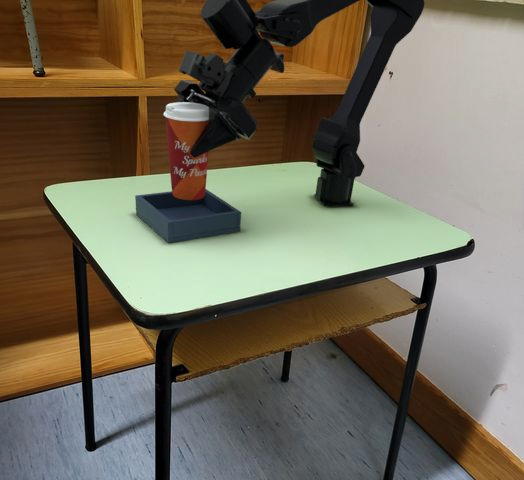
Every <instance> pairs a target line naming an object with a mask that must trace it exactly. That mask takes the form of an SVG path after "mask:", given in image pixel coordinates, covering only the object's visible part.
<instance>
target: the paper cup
mask: <svg viewBox="0 0 524 480" xmlns="http://www.w3.org/2000/svg"><path fill="white" fill-rule="evenodd" d="M163 116H164V117H165V126H166V138H167V153H168V164H169V173H170V175H169V176H170V184H171V191H172V194H173V196H174V197H176V198H178V199H183V200H197V199H201V198H203V197H204V196H205V190H206V189H207V177H208V174H207V173H208V163H209V162H208V161H209V151H208V152H206V153H204V154H202V155H200V156H198V157H195V158H194V157H192V155H191V154H190V151H191V149H192V147H193V146H194V144H195V142H196V141H197V139H198V138H199V136H200V135H201V133H202V132H203V130H204V129H205V127H206V126H207V124H208V122H209V107H208V106H206V105H203V104H197V103H188V102H179V101H177V102H170V103H168V104H166V105H165V111H164V112H163Z"/></svg>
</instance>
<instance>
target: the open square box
mask: <svg viewBox="0 0 524 480" xmlns="http://www.w3.org/2000/svg"><path fill="white" fill-rule="evenodd" d="M134 197H135V200H134V201H135V214H136V216H137V217H138V218H139V219H141V220H142V221H143V222H144V223H145V224H146V225H147V226H148V227H149V228H151V230H153V231H154V232H155V233H156V234H157V235H159V236H160V237H161V238H162V239H163V240H164V241H165V242H166V243H168V244H170V243H177V242H183V241H189V240H195V239H201V238H207V237H208V238H209V237H214V236H219V235H225V234H232V233H238V232H241V224H242V223H241V221H242V211H241V210H239V209H238V208H236V207H235V206H233V205H231V204H230V203H228V202H227V201H225V200H224V199H222V198H220V197H219V196H217V195H216V194H214V193H213V192H212V191H210V190H208V189H207V188H206V190H205V196H204V197H203V198H201V199H197V200H183V199H178V198H176V197H174V196H173V194H172V190H171V191H162V192H155V193H153V192H152V193H147V194H146V193H145V194H137V195H134Z"/></svg>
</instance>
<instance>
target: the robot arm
mask: <svg viewBox="0 0 524 480" xmlns="http://www.w3.org/2000/svg"><path fill="white" fill-rule="evenodd" d="M359 1H361V0H273V1H269V2H267V3H265V4H264V5H262V7H261V9H260V10H254V9H253V8H252V7H251V4H249V2H248V0H206V1H205V3H204V4H203V6H202V7H201V10H200V14H199V15H200V18H201V19H202V20H203V22H204V23H205V24H206V26H207V27H208V28H209V30H210V31H211V33H212V34H213V35H214V36H215V38H216V39H217V40H218V42H219V43H220V45H221V46H222V47H223V48H224V49H225V50H231V49H233V50H235V51H234V52H233V54H231V56H230V57H229V58H228V60H227V61H226V62H224V58H223V57H221V56H220V55H218V54H216V53H211V52H210V53H208V55H206V56H204V55H201V54H199V53H197V52H194V51H190V50H187V49H185V52H184V54H183V58H182V61H181V63H180V66H179V69H178V72H179V73H180V74H183V75H187V76H189V77H191V78H193V79H194V80H196V81H198V83H196V82H193V81H191V80H188V79H186V80H185V79H181V80H180V81H179V82H178V83H177V84H176V86H175V87H174V92H175V93H176V94H177V95H176V97H177V99H178V102H188V103H197V104H203V105H206V106H208V107H209V122H208V124H207V126H206V127H205V129H204V130H203V132H202V133H201V135H200V136H199V138H198V139H197V141H196V142H195V144H194V146H193V147H192V149H191V151H190V154H191V155H192V157H194V158H195V157H198V156H200V155H202V154H204V153H206V152H208V153H209V152H211V151H213V150H215V149H217V148H219V147H222V146H225V145H226V144H229V143H231V142H234V141H241V139H242V138H244V139H246V140H249V141H250V140H251V138H253V136H254V134H255V133H256V132H257V129H258V121H257V120H256V118H255V117H254V116H253V115H252V113H251V112H250V111H249V109H248V108H247V106H246V105H245V104H244V102H245V100H246V99H247V98H248V99H249V98H250V99H254V98H255V97H256V95H257V92H256V91H255V90H254V89H255V88H256V87H257V86H258V85H259V83H260V82H261V80H262V79H263V78H264V77H265V76H266V75H267V73H268V72H269V71H273V72H276V73H280V74H283V73H284V72H285V63H284V61H285V60H284V59H285V54H284V53H281V52H277V51H276V50H275V48H274V46H273V45H272V44H274V45H278V46H282V47H287V48H292V47H296V46H298V45H299V44H301V43H302V42H303V41H304V40H305V39H307V38H308V37H309V36H310V35H311V34H312V33H313V32H314V30H315V29H316V27H317V25H319V24H320V23H321V22H322V21H325V20H327V19H328V18H329V17H332V16H333V15H335V14H337V13H339V12H342V10H345V9H346V8H348V7H350V6H352V5H354V4H357V2H359ZM365 2H366V3H367V4H368V5H369V6H371V7H372V8H371V9H372V10H371V12H370V35H369V37H368V40H367V42H366V45H365V47H364V49H363V51H362V52H361V55H360V58H359V60H358V63H357V64H356V66H355V69H354V71H353V73H352V76H351V78H350V80H349V83H348V86H347V88H346V90H345V92H344V94H343V97H342V99H341V101H340V103H339V105H338V108H337V110H336V112H335V113H334V114H333V115H332V116H331V117H329V119H328V118H325V117H322V118H321V119H320V121H319V123H318V127H317V130H316V131H315V132H314V135H312V137H311V138H312V139H313V142H312V146H311V150H312V152H313V156H314V159H315V164H316V167H318V168H321V170H320V175H319V176H318V177H317V180H316V188H315V193H314V194H313V197H314V198H315V199H316V200H317V201H318V202H319V203H320V204H322V206H323V207H328V208H329V207H331V208H333V207H354V205H355V203H354V201H352V195H353V190H354V183H355V179H356V178H358V177H359V178H360V177H361V176H362V174H363V173H364V172H363V171H364V170H365V167H366V165H365V164H364V162H363V161H362V158H360V156H359V154H358V153H357V152H358V149H359V145H360V142H361V122H362V120H363V118H364V115H365V113H366V111H367V109H368V107H369V105H370V103H371V100H372V98H373V96H374V94H375V93H376V90H377V87H378V85H379V83H380V81H381V78H382V76H383V74H384V72H385V69H386V68H387V65H388V63H389V61H390V59H391V56H392V54H393V52H394V50H395V48H396V46H397V45H398V44H399V43H400V42H401V41H403V39H404V38H406V37H407V36H408V35H409V34H410V33H411V32H412V31H413V29H414V27H415V26H416V24H417V22H418V21H419V19H420V17H421V16H422V14H423V11H424V8H425V5H426V4H425V0H365Z"/></svg>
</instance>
